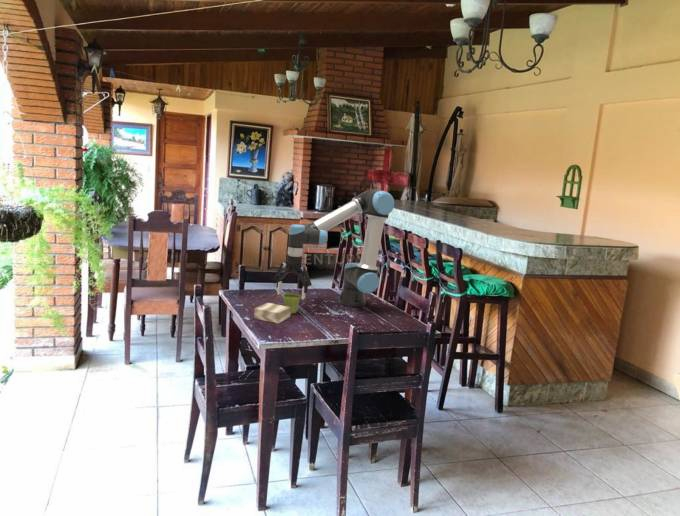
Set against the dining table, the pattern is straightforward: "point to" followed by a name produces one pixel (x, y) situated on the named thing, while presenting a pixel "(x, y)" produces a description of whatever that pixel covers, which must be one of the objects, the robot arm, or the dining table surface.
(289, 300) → the plant pot
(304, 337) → the dining table surface
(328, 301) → the dining table surface
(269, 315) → the ash block
